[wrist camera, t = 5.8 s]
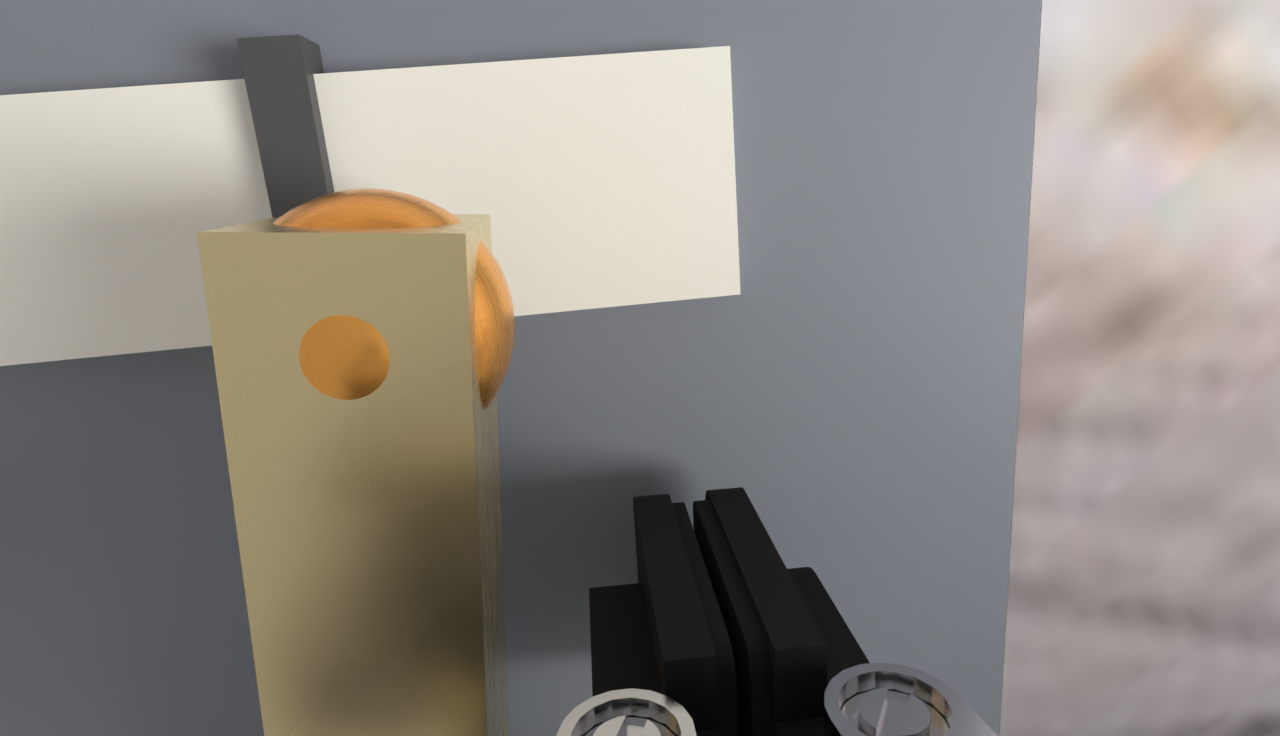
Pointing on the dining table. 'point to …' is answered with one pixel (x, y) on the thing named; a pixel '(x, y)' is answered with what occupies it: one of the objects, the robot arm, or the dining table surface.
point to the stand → (523, 309)
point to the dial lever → (366, 461)
